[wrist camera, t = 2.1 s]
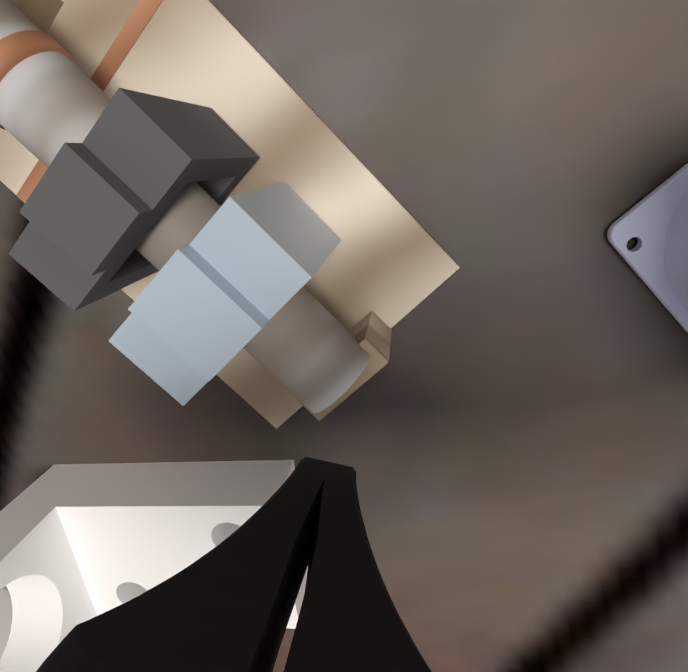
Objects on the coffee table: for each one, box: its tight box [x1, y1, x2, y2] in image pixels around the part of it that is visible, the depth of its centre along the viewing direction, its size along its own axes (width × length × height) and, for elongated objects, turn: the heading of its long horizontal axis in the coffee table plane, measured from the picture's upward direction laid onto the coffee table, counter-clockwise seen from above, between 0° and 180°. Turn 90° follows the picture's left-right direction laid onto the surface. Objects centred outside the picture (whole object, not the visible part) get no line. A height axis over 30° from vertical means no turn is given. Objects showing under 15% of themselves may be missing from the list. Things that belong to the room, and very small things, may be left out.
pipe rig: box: [0, 0, 460, 429], centre depth 17 cm, size 18×11×5 cm, turn 45°
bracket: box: [0, 460, 308, 672], centre depth 22 cm, size 13×7×8 cm, turn 96°
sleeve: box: [109, 183, 341, 406], centre depth 16 cm, size 3×6×7 cm, turn 135°
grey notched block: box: [9, 88, 259, 311], centre depth 16 cm, size 2×6×7 cm, turn 135°
